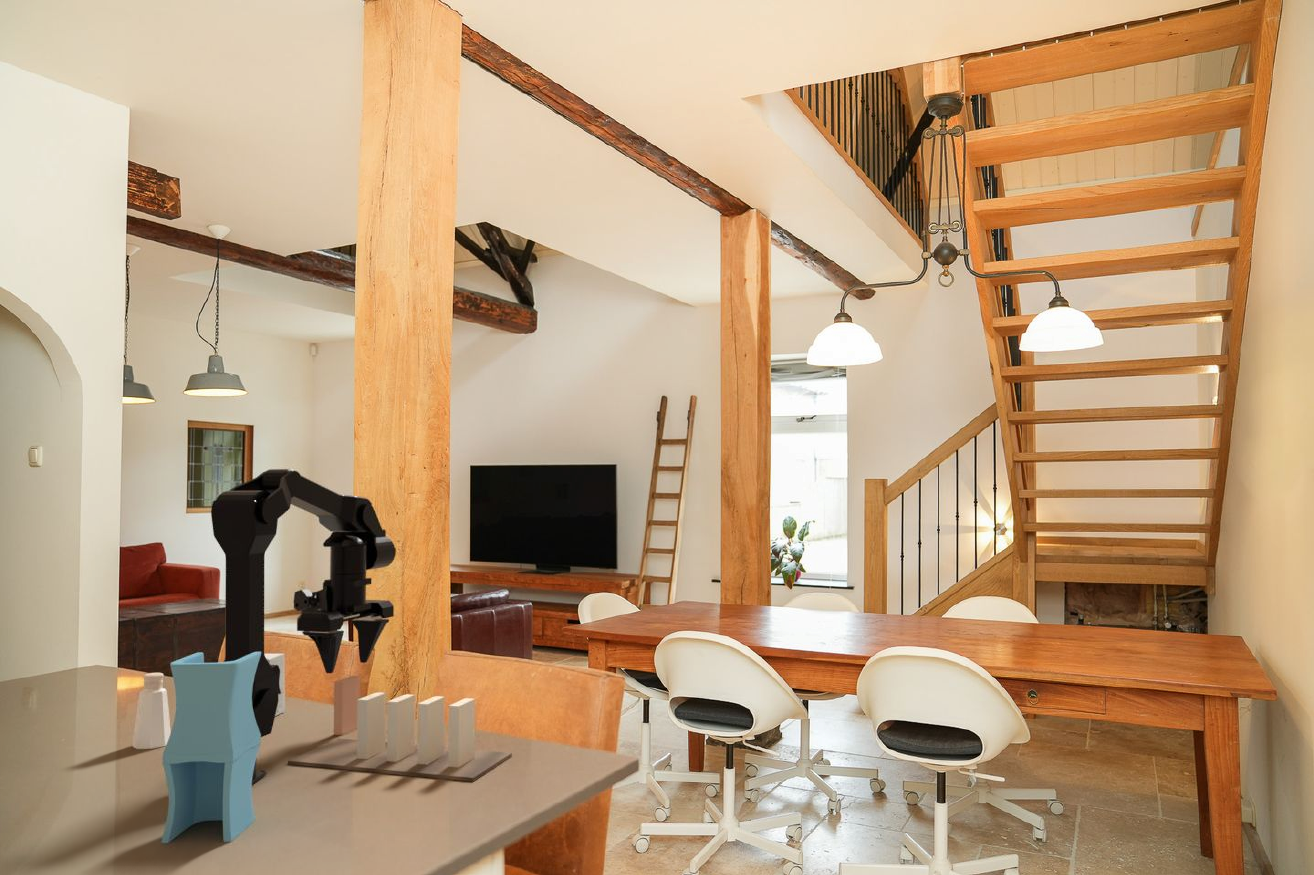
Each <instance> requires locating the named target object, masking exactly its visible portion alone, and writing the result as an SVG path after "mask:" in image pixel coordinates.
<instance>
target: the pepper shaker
mask: <svg viewBox="0 0 1314 875" xmlns="http://www.w3.org/2000/svg"><path fill="white" fill-rule="evenodd" d="M142 677H143V689H142V690H140V692H139V694H138V700H137V709H136V715H135V721H134V723H135V724H134V730H133V737H132V744H131V747H132V748H134V749H136V750H152V749H157V748H159V749H160V748H162V747H166V745H167V742H168V739H169V736H170V734H171V731H172V729H171V721H170V711H169V699H168V692H167V689H166V688H165V687H163V683H164V680H163V678H164V677H165V675H164V673H162V672H149V673H146V674H144V675H143V676H142Z"/></svg>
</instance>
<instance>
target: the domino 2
mask: <svg viewBox="0 0 1314 875" xmlns="http://www.w3.org/2000/svg"><path fill="white" fill-rule="evenodd" d="M386 709H387V710H386V711H387V712H386V742H387V761H392V762H397V761H399V760H401V759H403V758H405V757H407V756H409V755H411V754H413V753H415V745H416V744H415V743H416V741H415V738H416V736H415V735H416V732H415V731H416V727H415V726H416V724H415V723H416V714H415V713H416V695H415V694H407V693H406V694H405V693H404V694H403V695H400V696H398V697H395V698H392V699H391V700H388V701H386Z"/></svg>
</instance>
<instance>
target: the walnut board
mask: <svg viewBox="0 0 1314 875" xmlns="http://www.w3.org/2000/svg"><path fill="white" fill-rule="evenodd" d="M417 746H418V744H415V753H413V754H411V755H409V756H407V757H405V758H403V759H401V760H399V761H397V762H392V761H387V741H385V750H384V751H382V752H380V753H378V754H376V755H374V756H372V757H370V758H368V759H359V758H357V739H350V738H349V739H348V738H341V737H340V738H337V739H334V740H332V741H330V742H327V743H325V744H322V745H321V746H318V747H316V748H314V749H311V750H309V751H307V752H306V751H305V753H302V754H300V755H298V756H295V757H293V758H289V759H287V765H295V766H304V767H305V766H306V767H316V768H323V769H324V768H326V769H334V770H335V769H336V770H337V769H338V770H344V771H345V770H348V771H356V772H357V771H358V772H366V773H367V772H368V773H379V774H388V775H389V774H390V775H398V776H410V777H411V776H412V777H419V778H420V777H421V778H429V779H431V778H432V779H441V780H442V779H443V780H452V781H462V782H475V781H477V780H478V779H479V778H481V777H482V776H484V775H485V774H487V773H488V772H491V770H493V769H495V768H496V767H498V766H499V765H500V764H502V763H504V762H505V761H507V760H508V759H510V758H512V756H513V754H512V752H507V751H506V752H505V751H494V750H483V749H482V750H481V749H475V758H473V759H472V760H470V761H469V762H467V763H465V764H464V765H462V766H460V767H449V746H447V747H445V746H444V756H442V757H440V758H438V759H436V760H435V761H433V762H431V763H429V764H428V765H426V764H417Z"/></svg>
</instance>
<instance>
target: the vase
mask: <svg viewBox="0 0 1314 875" xmlns="http://www.w3.org/2000/svg"><path fill="white" fill-rule="evenodd" d="M260 656H261V652H253V653H251V654H249V655H247V656H244V657H242V658H240V659H237V660H235V661H229V662H224V661H221V662H205V656H204V652H196V653H193V654H190V655H187V656H185V657H182V658H180V659H177V660H174V661H172V662H170V670H171V673H172V674H171V675H172V678H173V684H174V689H175V691H174V692H175V700H176V701H175V714H174V718H173V719H174V720H173V723H172V728H171V734H170V736H169V739H168V742H167V745H166V746H164V747H165V748H164V750H163V752H162V766H163V769H164V774H165V778H166V784H167V792H168V811H167V817H166V822H165V827H164V830H163V834H162V837H161V842H160V844H169V843H170V842H172V841H173V840H174V839H175V838H176V837H178V836H180V835H181V833H183V832H184V831H185V830H187V829H188V828H189V827H191V826H192V825H195V824H198V823H202V822H208V821H209V822H210V821H222V834H223V836H222V838H223V843H231V842H233V841H234V840H235V839H236V838H237V837H239V836H240V835H241V834H242V833H243V832H245V830H246V829H247V828H249V826H251V825H252V824H253V823H254V822H255V820H256V818H255V811H254V805H253V797H252V795H253V794H252V785H253V784H252V776H253V770H254V766H255V761H256V762H257V756H258V753H259V750H260V746H261V742H262V741H261V740H262V737H261V734H260V731H259V728H258V726H257V723H256V720H255V716H254V712H253V707H252V688H253V682H254V677H255V673H256V669H257V666H258V662H259V659H260Z"/></svg>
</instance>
